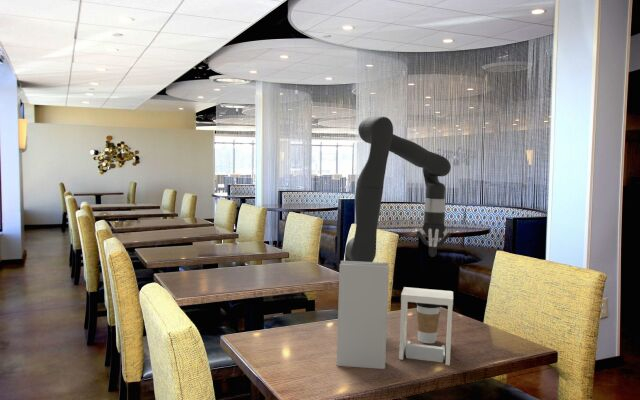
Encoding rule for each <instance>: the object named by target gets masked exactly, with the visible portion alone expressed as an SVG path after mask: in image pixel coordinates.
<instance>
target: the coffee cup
mask: <svg viewBox="0 0 640 400" xmlns="http://www.w3.org/2000/svg"><path fill="white" fill-rule="evenodd" d="M415 305H416V324H417V341H418V342H419V343H422V344H428V345H429V344H435V343H436V341H437V335H438V327H439V321H440V315H441V314H440V313H441V312H440V309H441V307H442V305H437V304H427V303H416V302H415Z"/></svg>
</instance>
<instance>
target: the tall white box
mask: <svg viewBox="0 0 640 400" xmlns="http://www.w3.org/2000/svg"><path fill="white" fill-rule="evenodd" d="M338 271H339V274H338V275H339V277H338V306H337V307H338V308H337V330H336V331H337V332H336V333H337V339H336V367H350V368H353V367H354V368H367V369H379V370H380V369H382V370H386V356H387V355H386V353H387V351H386V350H387V332H388V331H387V329H388V327H387V326H388V309H389V308H388V307H389V305H388V304H389V303H388V302H389V282H390V281H389V279H390V277H389V276H390V265H389V262H377V261H376V262H375V261H373V262H358V261H345V260H340V263H339V269H338Z"/></svg>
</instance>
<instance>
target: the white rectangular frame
mask: <svg viewBox="0 0 640 400" xmlns="http://www.w3.org/2000/svg"><path fill="white" fill-rule="evenodd" d="M408 303H415V304H416V303H427V304H437V305H441V306H447V317H446V318H447V320H446V321H447V323H446V342H445V344H442V345H441V346H436V345H429V344H428V345H427V344H419V343H418V344H417V343H412V342H411V341H410V340H407V329H408V328H407V324H408ZM453 307H454V291H452V290H443V289H429V288H419V287H406V286H403V289H402V291H401V293H400V320H399V321H400V324H399V325H400V326H399V347H398V348H399V349H398V350H399V351H398V360H400V361H401V360H404V357H405V358H406V359H409V360H410V359H412V360H420V361H427V362H438V363H443V362H444V361H445V366H450V364H451V347H452V346H451V345H452V323H453V322H452V321H453Z"/></svg>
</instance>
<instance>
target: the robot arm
mask: <svg viewBox="0 0 640 400" xmlns="http://www.w3.org/2000/svg"><path fill="white" fill-rule="evenodd" d="M358 135H359V137H360V139H361V140H362V141H363V142H364V143H367V144H369V145H370V147H369V155H368V158H367V160H366V162H365V164H364V166H363V168H362V170H361V171H360V173H359V176H358V177H357V180H356V187H355V194H354V210H355V219H356V222H355V224H356V225H355V233H354V237H353V238H351V239H349V241H348V242H347V244H346V246H345V250H344V261H358V262H374V260H375V258H376V255H377V254H376V253H377V237H378V236H377V233H378V231H377V230H378V223H379V218H380V213H381V205H382V199H383V192H384V184H385V175H386V170H387V164H388V158H389V154H390V152H391V153H392V154H395V155H396V156H398V157H400V158H402V159H404V160H405V161H406V162H408V163H410V164H411V165H414V166H415V167H416V168H422V174H423V179H424V184H425V200H424V201H425V202H424V209H423V210H424V211H423V212H424V213H423V225H422V227H421V228H420V229H418V230H417V231H416V234H417V235H418V237H419V238H420V239H421V241H422V243H423V244H424V245H426V246H428V255H429V256H430V257H435V256H437V251H438V250H437V248H438V247H440V246H442V245H443V244H444V243H446V241H447V240H448V238H450V236H451V232H449V231H448V230H447V229H446V226H445V216H446V214H445V213H446V199H445V198H446V197H445V196H446V186H445V184H444V183H442V182H441V181H440V180H439V177H445V176H448V175H449V173H450V171H451V169H452V166H451V162H450V161H449V159H447V157H444V156H442V155H440V154H438V153H435V152H434V151H433V152H432V151H429V150H428V149H426V148H425V147H424V146H421V145H420V144H418V143H416V142H413V141H412V140H409V139H406V138H404V137H400V136H398V135H396V134H394V126H393V123H392V120H391V119H390V118H388V117H386V116H370V117H366V118H364V119H363V120H362V121H360V123H359V125H358ZM424 234H425V235H426V236H427V238H428V240H427V239H426V237H425V236H424ZM442 235H443V237H442V238H441V239H440V241H439V238H440V237H441V236H442ZM433 238H434V240H433Z"/></svg>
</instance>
